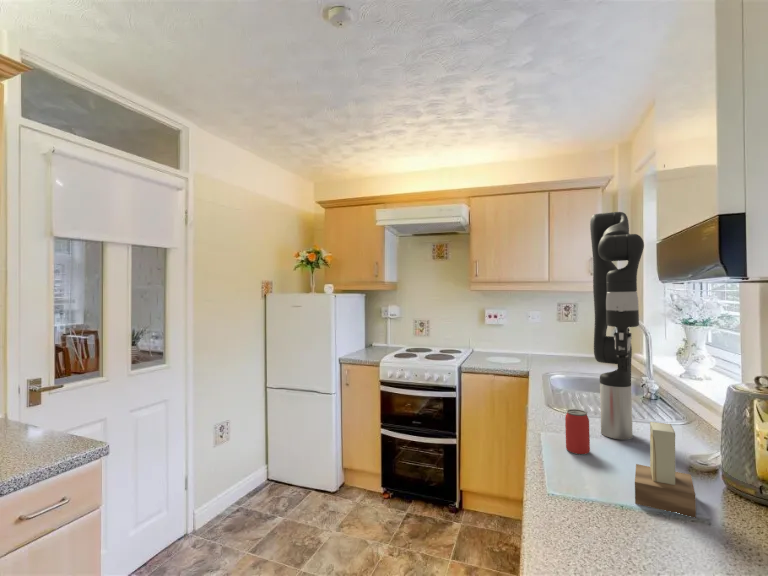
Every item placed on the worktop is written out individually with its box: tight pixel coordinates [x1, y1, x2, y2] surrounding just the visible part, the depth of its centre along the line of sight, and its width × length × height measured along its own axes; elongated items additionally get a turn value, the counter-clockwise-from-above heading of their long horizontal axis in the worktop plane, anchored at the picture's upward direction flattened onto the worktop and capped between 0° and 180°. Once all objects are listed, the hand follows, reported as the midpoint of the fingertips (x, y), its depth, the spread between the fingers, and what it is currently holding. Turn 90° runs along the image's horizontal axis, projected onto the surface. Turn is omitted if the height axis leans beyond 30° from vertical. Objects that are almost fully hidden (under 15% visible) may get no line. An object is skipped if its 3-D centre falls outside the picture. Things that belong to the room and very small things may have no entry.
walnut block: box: [634, 463, 697, 519], centre depth 92 cm, size 11×11×5 cm
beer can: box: [564, 408, 591, 456], centre depth 120 cm, size 7×7×12 cm
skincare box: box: [649, 421, 676, 485], centre depth 92 cm, size 6×4×12 cm
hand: (623, 368), depth 106 cm, fingers open, 8 cm apart
